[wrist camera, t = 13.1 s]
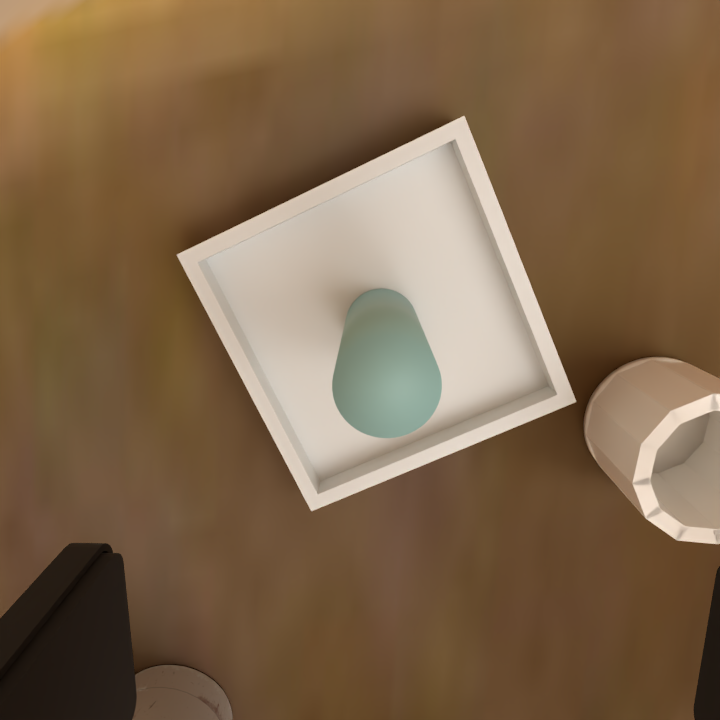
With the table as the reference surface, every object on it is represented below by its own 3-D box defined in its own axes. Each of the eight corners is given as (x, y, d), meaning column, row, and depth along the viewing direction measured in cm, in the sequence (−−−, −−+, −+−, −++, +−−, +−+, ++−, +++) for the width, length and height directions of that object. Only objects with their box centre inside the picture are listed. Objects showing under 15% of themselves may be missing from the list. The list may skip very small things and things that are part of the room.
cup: (695, 334, 34) (774, 366, 27) (734, 451, 36) (818, 508, 29) (564, 389, 35) (610, 432, 28) (608, 500, 37) (662, 566, 30)
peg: (399, 276, 33) (415, 314, 21) (428, 341, 34) (458, 412, 22) (333, 306, 33) (313, 360, 22) (363, 370, 34) (360, 454, 23)
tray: (457, 122, 32) (464, 115, 29) (562, 388, 35) (576, 401, 33) (190, 251, 34) (176, 254, 31) (315, 491, 37) (311, 511, 35)
